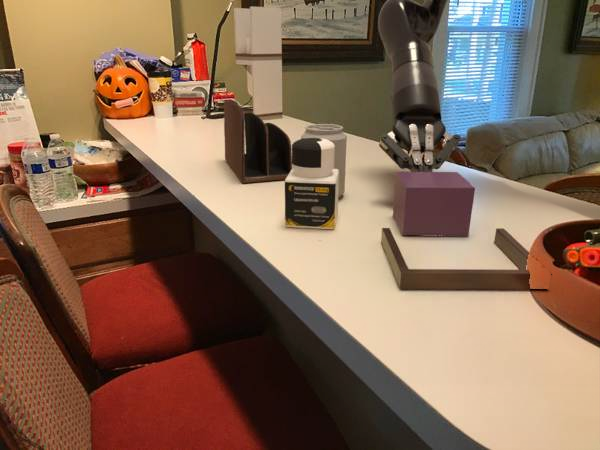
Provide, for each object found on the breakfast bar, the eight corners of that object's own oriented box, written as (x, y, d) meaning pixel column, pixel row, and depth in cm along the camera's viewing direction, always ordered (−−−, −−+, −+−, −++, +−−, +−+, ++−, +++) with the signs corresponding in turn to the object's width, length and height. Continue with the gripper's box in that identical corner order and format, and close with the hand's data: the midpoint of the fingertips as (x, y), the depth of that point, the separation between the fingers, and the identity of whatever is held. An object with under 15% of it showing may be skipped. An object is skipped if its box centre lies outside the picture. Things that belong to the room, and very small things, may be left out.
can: (345, 202, 78) (348, 129, 73) (300, 202, 78) (300, 129, 73) (343, 189, 85) (345, 122, 80) (301, 189, 85) (301, 122, 80)
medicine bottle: (284, 227, 67) (283, 144, 63) (292, 211, 74) (292, 134, 69) (334, 230, 66) (337, 145, 62) (337, 213, 73) (340, 135, 69)
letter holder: (242, 184, 88) (238, 107, 83) (224, 160, 105) (221, 95, 100) (293, 179, 90) (292, 104, 85) (268, 157, 108) (266, 94, 103)
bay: (501, 242, 62) (503, 228, 62) (548, 290, 50) (552, 273, 50) (381, 241, 63) (381, 227, 62) (399, 289, 50) (401, 273, 50)
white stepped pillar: (265, 114, 172) (262, 9, 159) (282, 117, 164) (281, 8, 152) (238, 117, 166) (233, 8, 153) (255, 121, 158) (251, 6, 145)
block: (451, 216, 72) (457, 171, 69) (468, 236, 64) (475, 187, 62) (392, 216, 72) (396, 171, 69) (402, 236, 64) (406, 187, 62)
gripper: (378, 81, 74) (383, 178, 67) (462, 82, 74) (476, 179, 67) (371, 111, 81) (376, 201, 74) (448, 111, 81) (460, 202, 74)
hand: (424, 190), depth 71 cm, fingers closed
